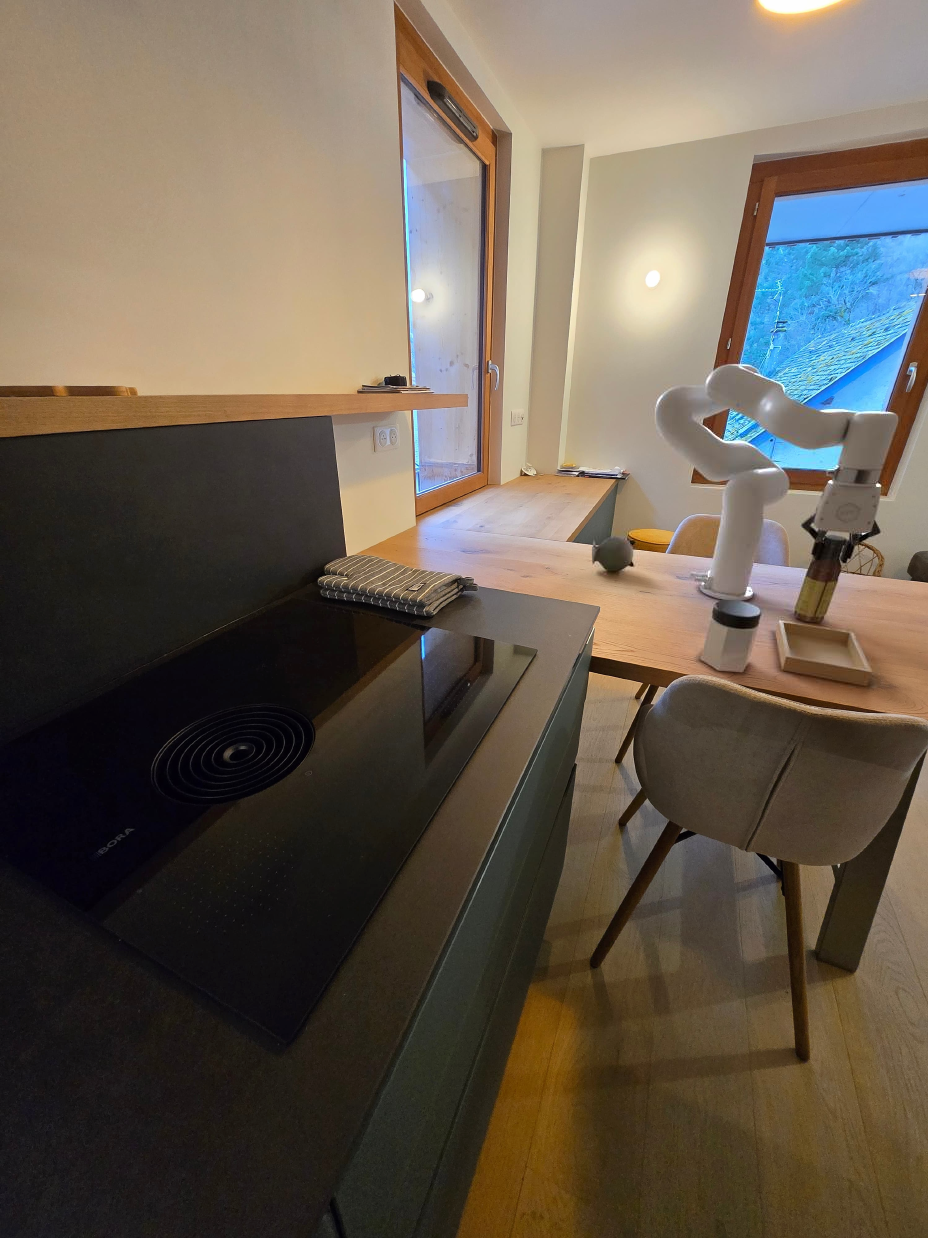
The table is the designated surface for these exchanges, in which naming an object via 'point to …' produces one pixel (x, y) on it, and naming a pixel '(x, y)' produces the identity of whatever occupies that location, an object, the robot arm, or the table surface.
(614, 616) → the table surface
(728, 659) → the jar
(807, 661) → the tray
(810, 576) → the sauce bottle
